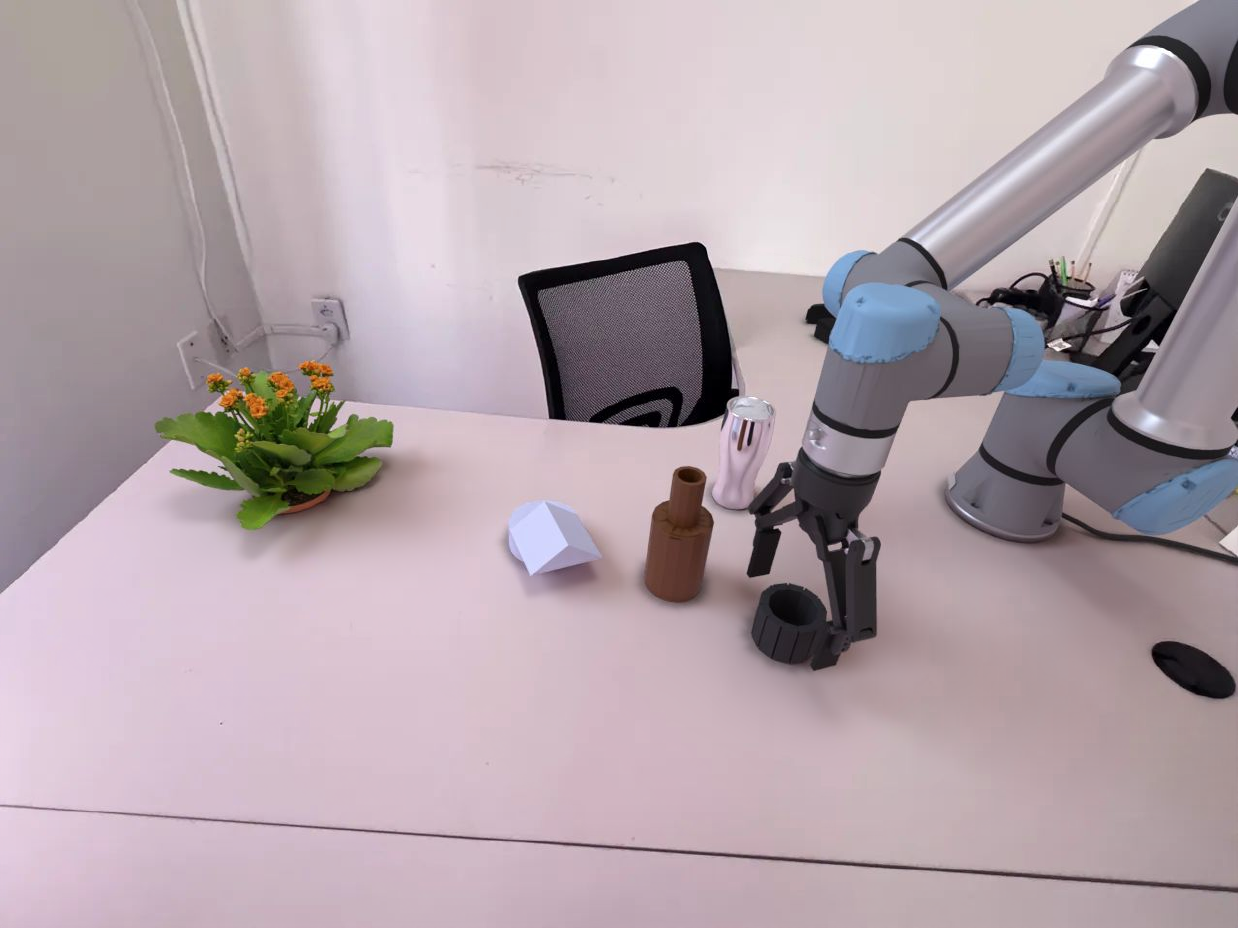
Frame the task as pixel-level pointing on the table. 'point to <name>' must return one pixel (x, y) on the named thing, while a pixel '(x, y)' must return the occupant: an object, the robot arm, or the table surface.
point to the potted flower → (279, 443)
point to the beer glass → (742, 449)
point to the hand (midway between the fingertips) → (787, 616)
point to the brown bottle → (679, 539)
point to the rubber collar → (784, 637)
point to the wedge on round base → (549, 537)
